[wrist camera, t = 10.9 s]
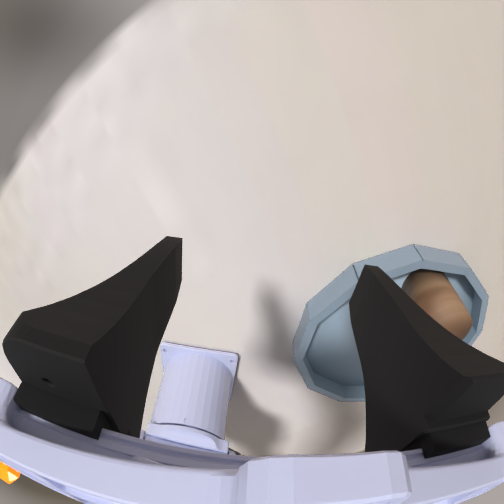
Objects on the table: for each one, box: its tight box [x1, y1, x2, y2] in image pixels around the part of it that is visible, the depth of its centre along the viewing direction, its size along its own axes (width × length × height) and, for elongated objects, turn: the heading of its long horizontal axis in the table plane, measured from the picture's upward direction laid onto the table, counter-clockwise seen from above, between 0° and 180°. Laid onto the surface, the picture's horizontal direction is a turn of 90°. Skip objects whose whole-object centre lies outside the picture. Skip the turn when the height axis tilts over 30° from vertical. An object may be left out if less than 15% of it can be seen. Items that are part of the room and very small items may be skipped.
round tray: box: [293, 244, 489, 402], centre depth 28 cm, size 20×20×2 cm
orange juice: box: [0, 462, 20, 484], centre depth 76 cm, size 8×9×20 cm
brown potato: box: [402, 268, 472, 340], centre depth 22 cm, size 4×4×6 cm
